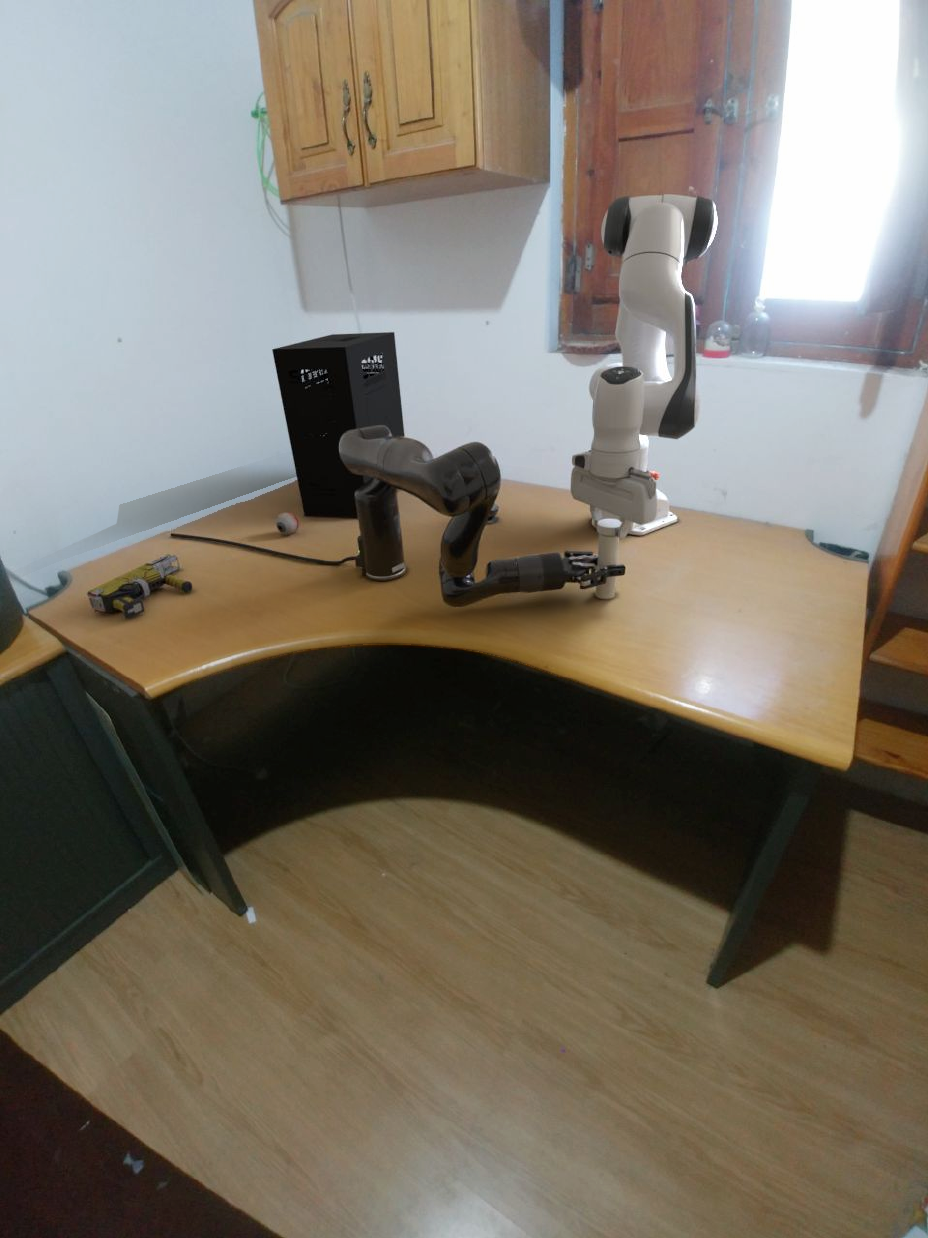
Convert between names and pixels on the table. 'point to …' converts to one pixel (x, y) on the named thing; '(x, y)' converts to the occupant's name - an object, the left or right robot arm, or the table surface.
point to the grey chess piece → (493, 514)
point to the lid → (608, 526)
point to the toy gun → (136, 587)
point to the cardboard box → (335, 410)
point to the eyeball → (287, 523)
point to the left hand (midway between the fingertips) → (620, 564)
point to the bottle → (607, 564)
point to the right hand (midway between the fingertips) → (609, 532)
